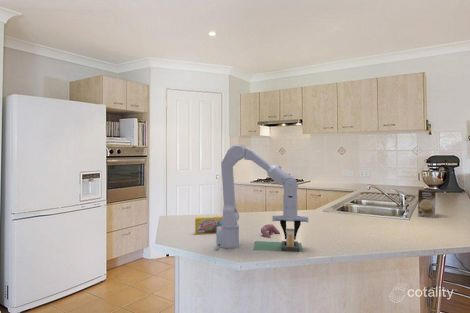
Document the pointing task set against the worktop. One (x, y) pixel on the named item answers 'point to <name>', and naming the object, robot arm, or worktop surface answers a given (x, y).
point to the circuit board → (271, 246)
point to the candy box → (207, 225)
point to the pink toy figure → (269, 228)
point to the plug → (290, 237)
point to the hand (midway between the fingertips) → (290, 238)
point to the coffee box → (426, 203)
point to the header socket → (290, 249)
